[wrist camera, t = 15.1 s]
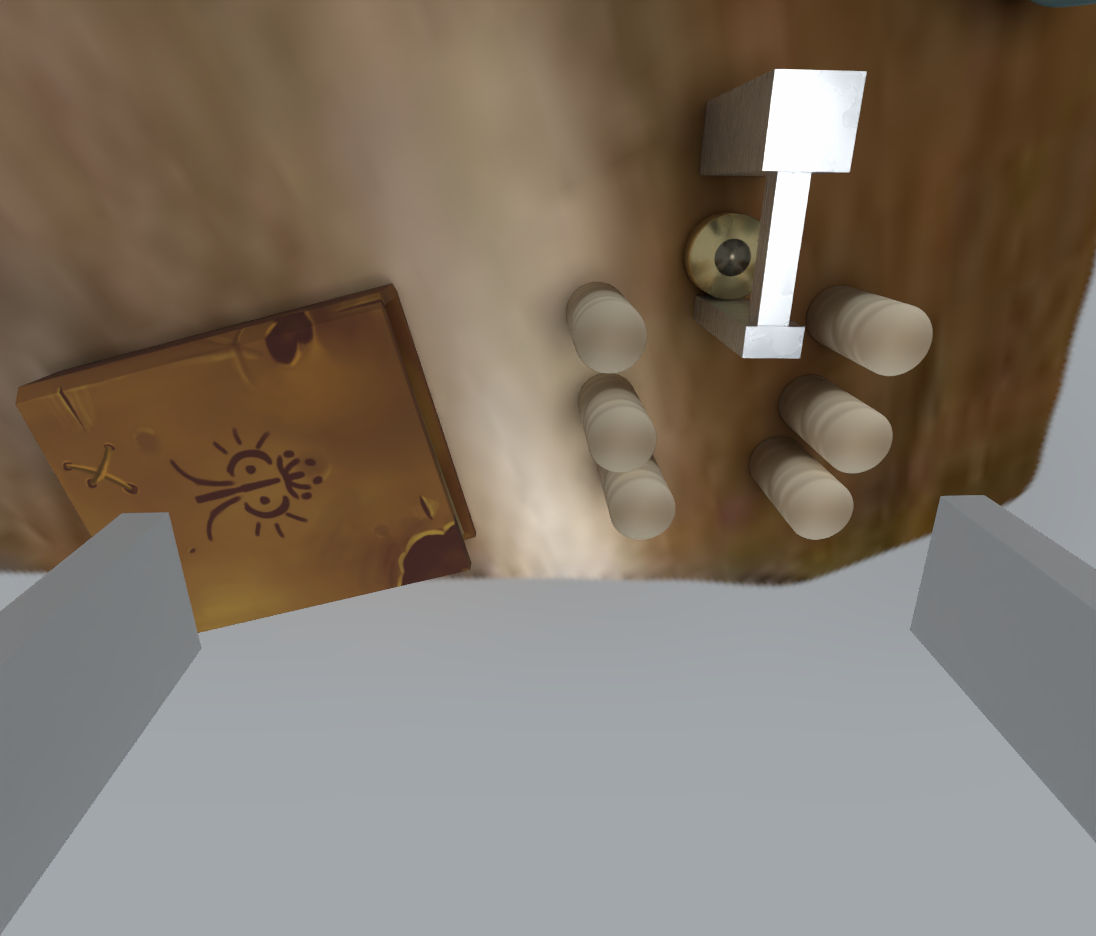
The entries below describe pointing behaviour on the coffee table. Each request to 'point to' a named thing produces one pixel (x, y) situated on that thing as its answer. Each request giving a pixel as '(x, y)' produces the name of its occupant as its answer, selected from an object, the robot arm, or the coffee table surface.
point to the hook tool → (776, 189)
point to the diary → (267, 456)
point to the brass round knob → (723, 254)
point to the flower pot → (1063, 2)
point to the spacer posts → (804, 405)
